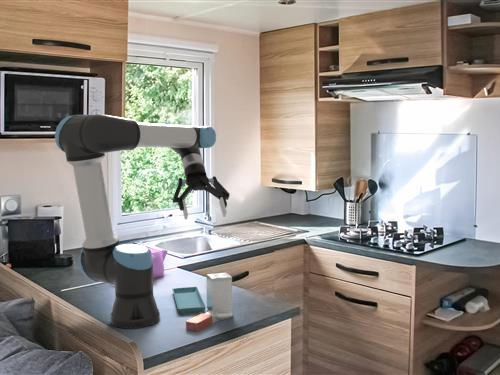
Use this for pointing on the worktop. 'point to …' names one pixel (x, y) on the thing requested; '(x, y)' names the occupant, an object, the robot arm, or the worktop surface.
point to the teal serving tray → (188, 300)
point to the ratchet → (206, 320)
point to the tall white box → (219, 293)
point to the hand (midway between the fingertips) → (205, 215)
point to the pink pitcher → (158, 262)
